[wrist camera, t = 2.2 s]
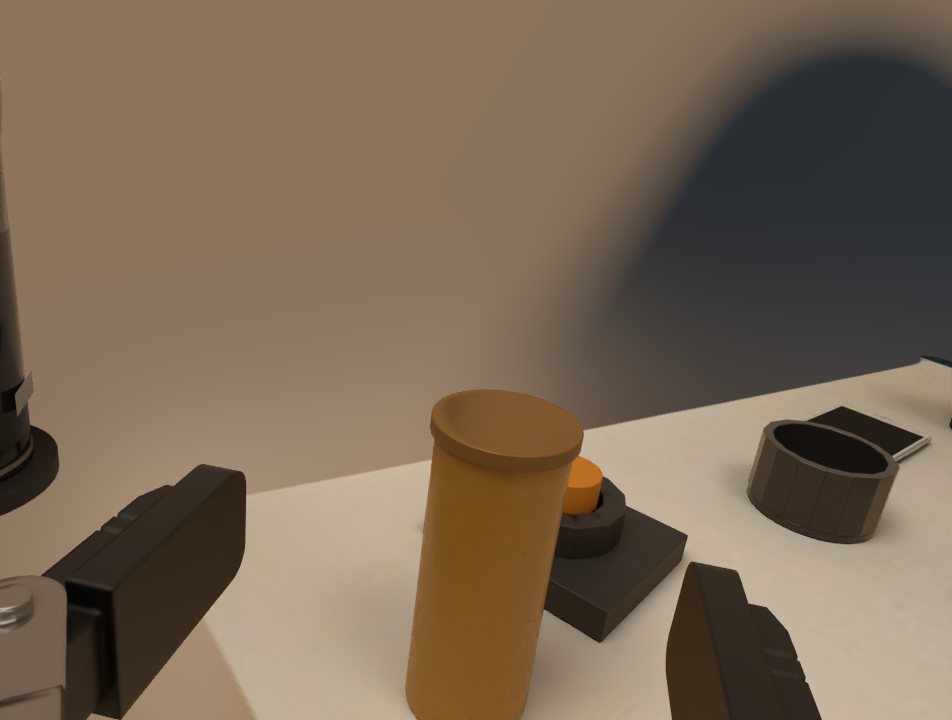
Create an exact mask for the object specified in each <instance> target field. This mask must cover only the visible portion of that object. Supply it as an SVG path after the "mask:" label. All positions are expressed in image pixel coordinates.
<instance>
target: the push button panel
mask: <svg viewBox="0 0 952 720" xmlns="http://www.w3.org/2000/svg"><path fill="white" fill-rule="evenodd" d="M426 508H427V507H426ZM425 516H426V514H425ZM424 525H425V522H424ZM423 533H424V531H423ZM687 537H688V535H686V534H684V533H682V532H680V531H678V530H676V529H674V528H672V527H670V526H668V525H665V524H663V523H661V522H659V521H657V520H655V519H653V518H651V517H649V516H647V515H645V514H642V513H640V512H638V511H636V510H634V509H632V508H630V507H628V506H626V503H625V495H624V494H623V493H622V492H621V491H620V490H619V489H618V488H617V487H616V486H615V485H614V484H613V483H612V482H611V481H610V480H609V479H607V478H605V477H603V479H602V484H601V488H600V493H599V498H598V502H597V506H596V508H595V510H594V511H593V512H591V513H584V514H575V515H572V514H567V513H562V518H561V523H560V528H559V533H558V538H557V543H556V549H555V554H554V559H553V564H552V569H551V574H550V579H549V584H548V590H547V595H546V600H545V605H544V608H545V609H547V610H549V611H550V612H552V613H553V614H555V615H557V616H558V617H560V618H562V619H563V620H565V621H566V622H568V623H570V624H571V625H573V626H575V627H576V628H578V629H579V630H581V631H583V632H584V633H586V634H588V635H589V636H591V637H592V638H594V639H596V640H597V641H599V642H601V641H602V640H603V639H604V638H605V637H606V636H607V635H608V634H609V633H610V632H611V631H612V630H613V629H614V628H615V627H616V626H617V625H618V624H619V623H620V622H621V621H622V620H623V619H624V618H625V617H626V616H627V615H628V614H629V613H630V612H631V611H632V610H633V609H634V608H635V607H636V606H637V605H638V604H639V603H640V602H641V601H642V600H643V599H644V598H645V597H646V596H647V595H648V594H649V593H650V592H651V591H652V590H653V589H654V588H655V587H656V586H657V585H658V584H659V583H660V582H661V581H662V580H663V579H664V578H665V577H666V575H667V574H668V573H669V572H670V571H671V570H672V569H673V568H674V567H675V566H676V565H677V564H678V563H679V562H680V561H681V560H682V556H683V552H684V548H685V545H686V541H687Z"/></svg>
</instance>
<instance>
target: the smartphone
mask: <svg viewBox="0 0 952 720" xmlns="http://www.w3.org/2000/svg"><path fill="white" fill-rule="evenodd" d="M803 421H807V422H808V421H809V422H813V423H818V424H822V425H827V426H831V427H834V428H837V429H840V430H843V431H846V432H849V433H852V434H855V435H857V436H859V437H861V438H863V439H865V440H867V441H869V442H871V443H873V444H875V445H878V446H879V447H880V448H882V449H883V450H884V451H886V452H887V453H889V454H890V455H891V456H893V458H894V460H895V461H896V462H897V461H899V460H900V459H902V458H904V457H905V456H908V455H909V454H910V453H913V452H914V451H916V450H917V449H919V448H921V447H922V446H923V445H925V444H926V443H928V442H930V441H931V439H932V437H931V435H930V434H928V433H926V432H923V431H921V430H918V429H915V428H913V427H910V426H907V425H905V424H902V423H899V422H897V421H894V420H891V419H889V418H886V417H883V416H881V415H878V414H875V413H873V412H870V411H867V410H865V409H862V408H860V407H857V406H854V405H851V404H848V403H844V404H842V405H839V406H837V407H834V408H832V409H830V410H827V411H825V412H822V413H820V414H817V415H815V416H813V417H810V418H808V419H805V420H803Z"/></svg>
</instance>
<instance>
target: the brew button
mask: <svg viewBox="0 0 952 720" xmlns="http://www.w3.org/2000/svg"><path fill="white" fill-rule="evenodd" d="M602 479H603V475H602V472H601V470H600V469H599V468H598V467H597V466H596V465H595V464H594V463H592V462H591V461H589V460H587V459H585V458H582V457H579V456H578V457H577V458H576V459H575V460H574V461H573V462H572V467H571V472H570V477H569V482H568V487H567V492H566V497H565V502H564V508H563V513H567V514H572V515H575V514H584V513H591V512H593V511H594V510H595V508H596V506H597V502H598V498H599V493H600V488H601V484H602Z"/></svg>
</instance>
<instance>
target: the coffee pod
mask: <svg viewBox="0 0 952 720" xmlns="http://www.w3.org/2000/svg"><path fill="white" fill-rule="evenodd" d="M430 429H431V433H432V435H433V437H434V448H433V456H432V465H431V473H430V482H429V490H428V499H427V508H426V516H425V525H424V533H423V542H422V550H421V559H420V567H419V576H418V584H417V593H416V601H415V610H414V618H413V627H412V635H411V644H410V653H409V661H408V670H407V678H406V696H407V700H408V703H409V705H410V707H411V709H412V711H413V713H414V714H415V716H416V717H417V718H418V719H419V720H519V719H520V717H521V715H522V713H523V711H524V707H525V702H526V697H527V692H528V687H529V682H530V677H531V672H532V666H533V661H534V656H535V651H536V646H537V641H538V636H539V631H540V625H541V620H542V615H543V610H544V605H545V600H546V595H547V590H548V584H549V579H550V574H551V569H552V564H553V559H554V554H555V549H556V543H557V538H558V533H559V528H560V523H561V518H562V513H563V508H564V502H565V497H566V492H567V487H568V482H569V477H570V472H571V467H572V462H573V461H574V460H575V459H576V458H577V457H578V455H579V453H580V452H581V447H582V442H583V436H584V433H583V429H582V426H581V425H580V423H579V421H578V420H577V419H576V418H575V417H574V416H573V415H571V414H570V413H569V412H567V411H566V410H564V409H563V408H561V407H559V406H557V405H555V404H553V403H551V402H548V401H545V400H543V399H540V398H537V397H533V396H530V395H526V394H521V393H516V392H510V391H502V390H470V391H463V392H458V393H455V394H451V395H449V396H446V397H444V398H443V399H441V400H440V401H438V402H437V403H436V405H435V406H434V407H433V410H432V414H431V424H430Z"/></svg>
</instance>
